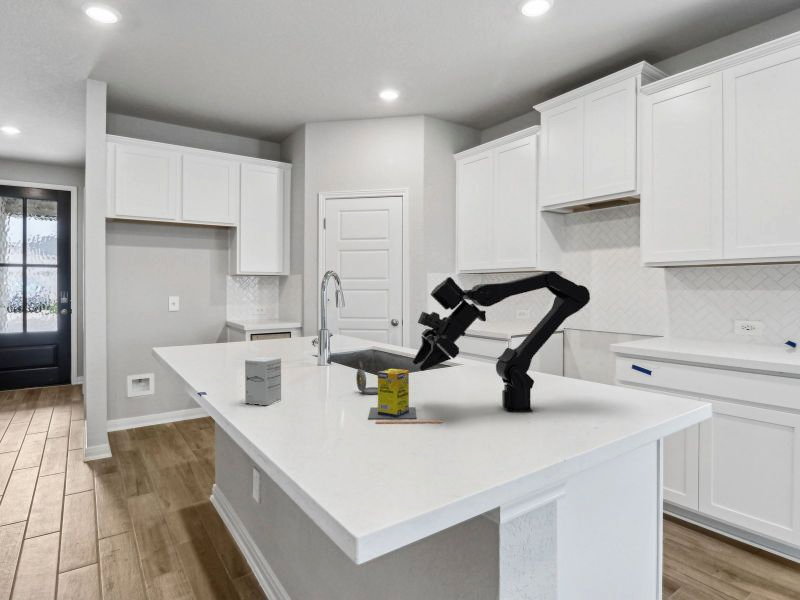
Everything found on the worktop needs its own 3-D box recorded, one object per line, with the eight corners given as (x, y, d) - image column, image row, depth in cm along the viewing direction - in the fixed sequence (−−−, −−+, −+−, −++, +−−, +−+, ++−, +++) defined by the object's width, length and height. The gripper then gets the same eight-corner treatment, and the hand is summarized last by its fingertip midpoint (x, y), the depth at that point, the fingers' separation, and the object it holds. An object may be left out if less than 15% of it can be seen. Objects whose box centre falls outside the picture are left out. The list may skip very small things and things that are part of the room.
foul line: (441, 421, 115) (441, 420, 115) (442, 423, 114) (442, 421, 114) (375, 422, 115) (375, 421, 115) (375, 423, 114) (375, 422, 114)
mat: (415, 408, 127) (415, 407, 127) (416, 419, 117) (416, 417, 117) (370, 408, 127) (370, 407, 127) (368, 419, 117) (368, 417, 117)
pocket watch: (387, 391, 148) (386, 359, 148) (371, 397, 141) (370, 363, 140) (365, 388, 152) (365, 357, 152) (349, 394, 145) (349, 361, 145)
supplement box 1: (244, 404, 134) (243, 359, 133) (261, 398, 140) (260, 355, 140) (266, 406, 131) (265, 361, 130) (282, 400, 138) (281, 357, 137)
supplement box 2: (397, 418, 117) (396, 373, 117) (377, 414, 120) (376, 371, 120) (409, 412, 122) (409, 370, 122) (390, 409, 125) (389, 368, 125)
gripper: (428, 299, 131) (389, 340, 130) (445, 301, 113) (400, 350, 112) (456, 327, 133) (418, 368, 132) (477, 333, 114) (433, 381, 113)
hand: (417, 366), depth 122 cm, fingers open, 9 cm apart
